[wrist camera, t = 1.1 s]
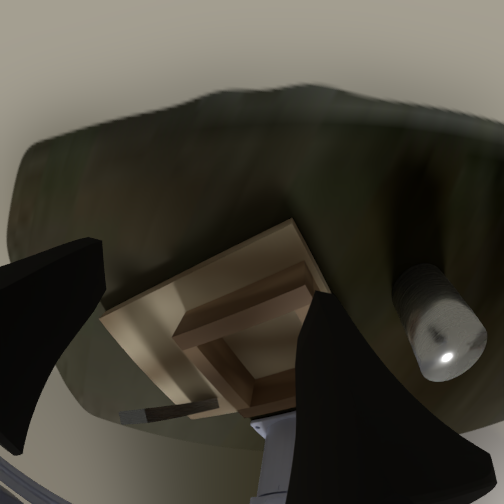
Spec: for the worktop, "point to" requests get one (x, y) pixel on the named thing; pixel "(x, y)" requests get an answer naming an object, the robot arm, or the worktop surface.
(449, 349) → the steel peg
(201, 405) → the bar
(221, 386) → the socket board
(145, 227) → the worktop surface
